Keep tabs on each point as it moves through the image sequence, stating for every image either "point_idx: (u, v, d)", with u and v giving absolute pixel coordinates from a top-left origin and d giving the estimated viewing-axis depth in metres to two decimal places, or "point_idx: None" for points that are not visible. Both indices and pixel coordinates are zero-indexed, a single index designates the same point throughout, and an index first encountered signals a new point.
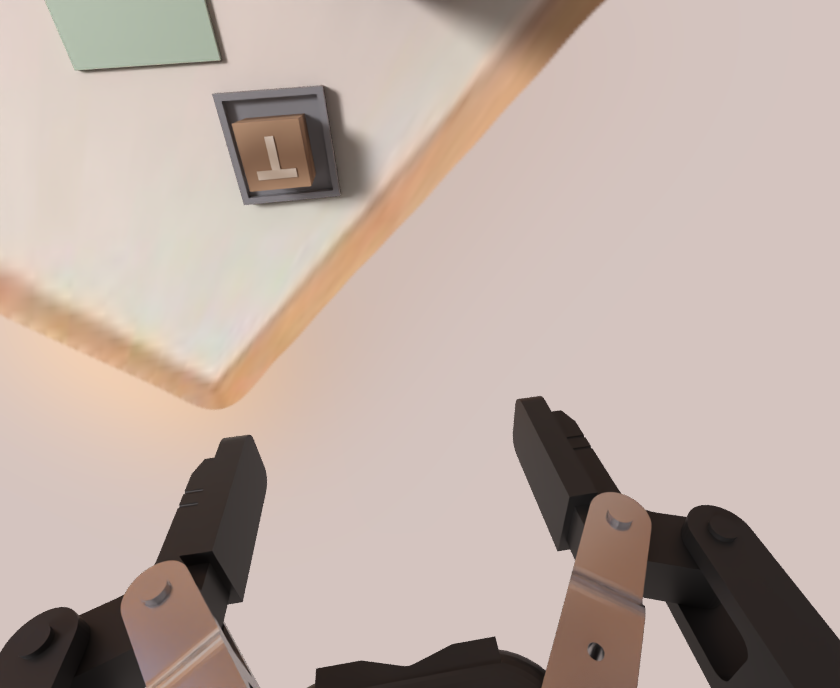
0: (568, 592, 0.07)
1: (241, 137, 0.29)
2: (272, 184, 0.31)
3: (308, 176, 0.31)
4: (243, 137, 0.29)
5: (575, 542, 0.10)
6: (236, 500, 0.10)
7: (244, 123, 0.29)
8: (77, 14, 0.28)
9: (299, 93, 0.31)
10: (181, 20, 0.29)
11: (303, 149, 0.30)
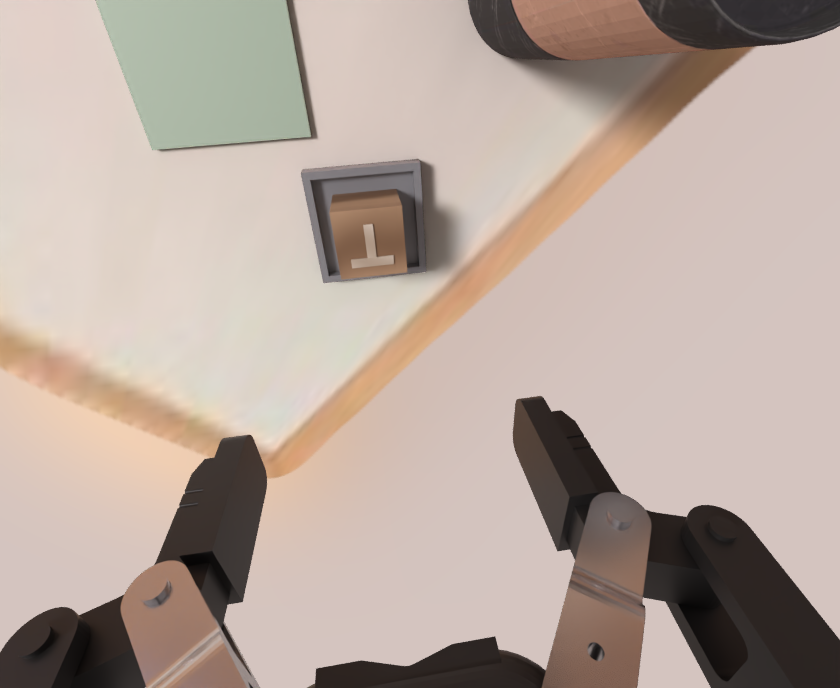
0: (568, 592, 0.07)
1: (338, 225, 0.26)
2: (365, 271, 0.28)
3: (405, 262, 0.28)
4: (340, 225, 0.26)
5: (575, 542, 0.10)
6: (236, 500, 0.10)
7: (343, 211, 0.26)
8: (160, 92, 0.25)
9: (394, 170, 0.28)
10: (272, 96, 0.26)
11: (403, 236, 0.27)
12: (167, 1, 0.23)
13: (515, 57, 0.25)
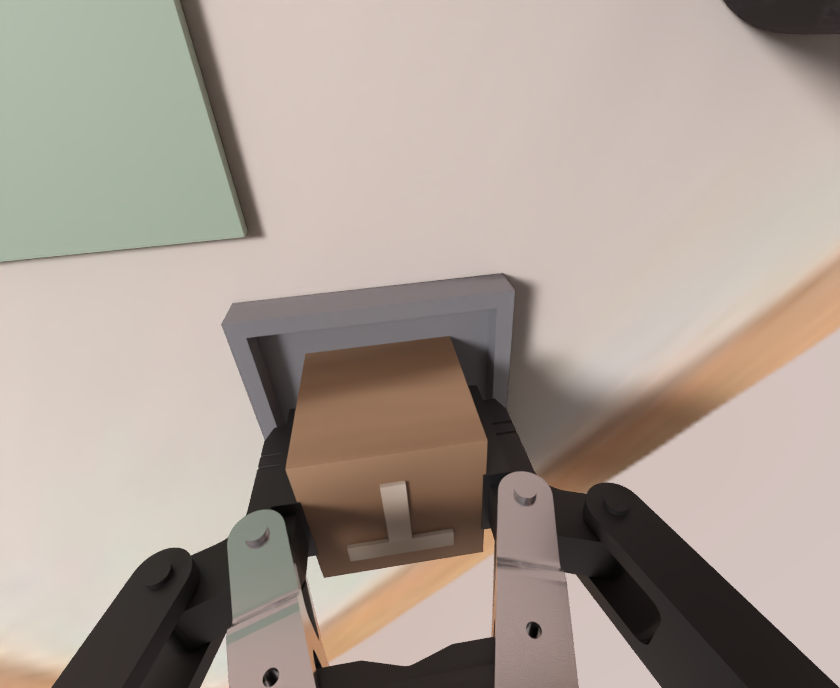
0: (498, 581, 0.07)
1: (312, 491, 0.10)
2: (384, 560, 0.12)
3: (480, 537, 0.12)
4: (318, 491, 0.10)
5: (492, 520, 0.10)
6: None
7: (324, 461, 0.09)
8: None
9: (453, 309, 0.12)
10: (127, 141, 0.09)
11: None
12: None
13: (821, 29, 0.09)
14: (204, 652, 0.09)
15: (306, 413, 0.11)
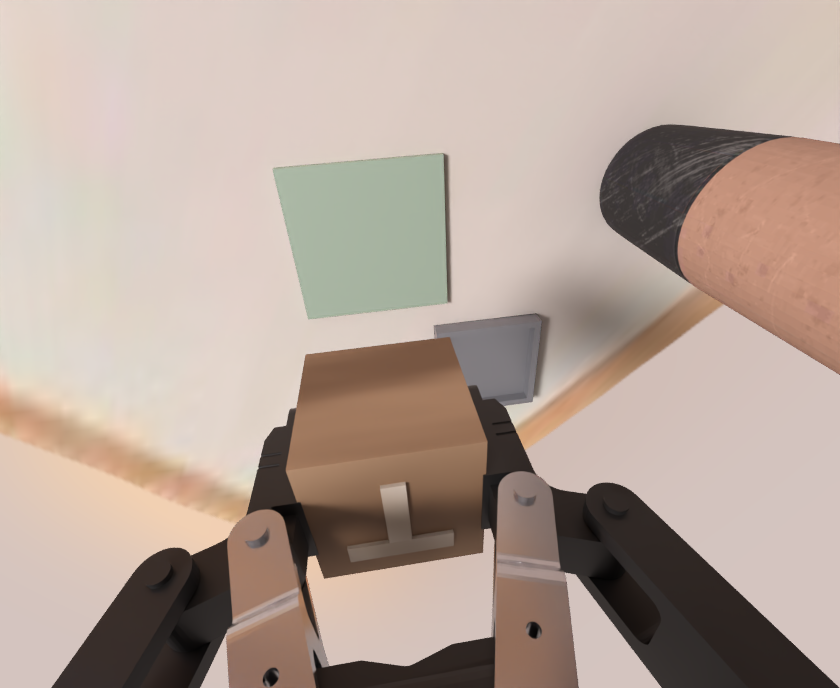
0: (498, 582, 0.07)
1: (312, 492, 0.10)
2: (384, 561, 0.12)
3: (480, 538, 0.12)
4: (318, 492, 0.10)
5: (492, 520, 0.10)
6: None
7: (324, 463, 0.09)
8: (324, 277, 0.28)
9: (518, 328, 0.31)
10: (420, 275, 0.29)
11: None
12: (344, 212, 0.26)
13: None
14: (204, 652, 0.09)
15: (306, 414, 0.11)
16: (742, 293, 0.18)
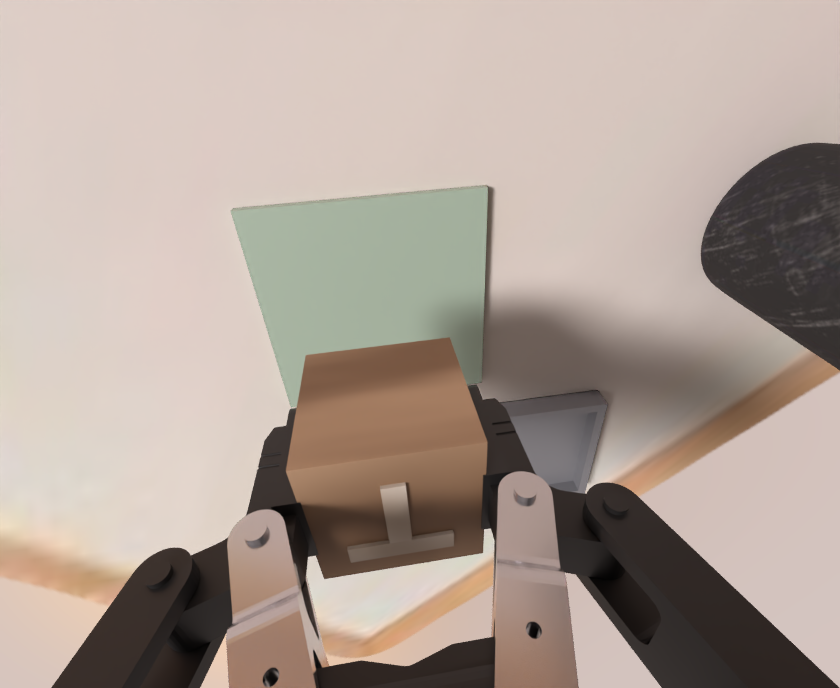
0: (498, 581, 0.07)
1: (312, 493, 0.10)
2: (384, 561, 0.12)
3: (480, 539, 0.12)
4: (318, 493, 0.10)
5: (492, 520, 0.10)
6: None
7: (324, 463, 0.09)
8: None
9: (576, 413, 0.23)
10: None
11: None
12: (339, 269, 0.18)
13: None
14: (204, 652, 0.09)
15: (306, 415, 0.11)
16: None
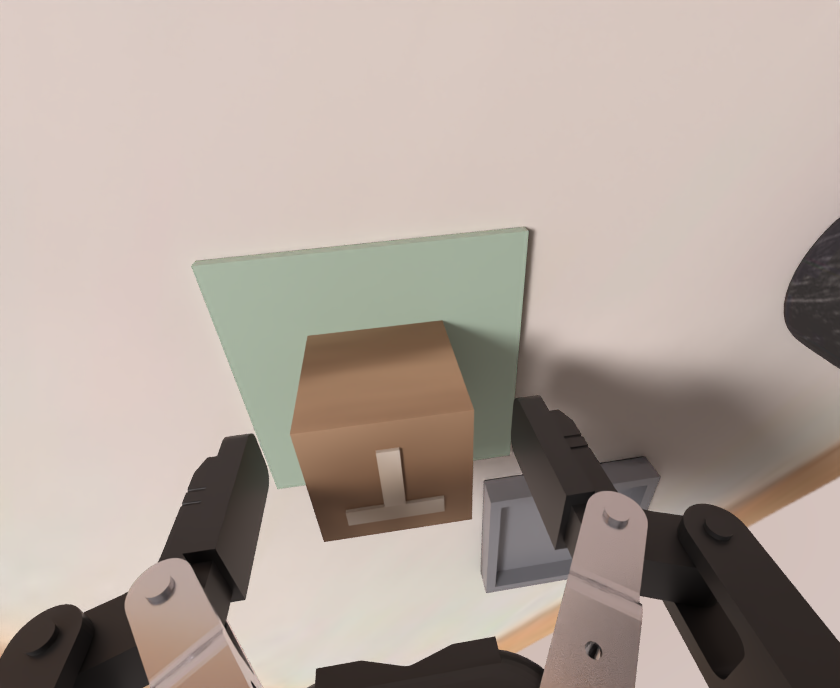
0: (565, 591, 0.07)
1: (314, 456, 0.11)
2: (380, 525, 0.12)
3: (469, 505, 0.12)
4: (319, 456, 0.11)
5: (572, 541, 0.10)
6: (238, 498, 0.10)
7: (325, 428, 0.10)
8: None
9: (622, 487, 0.19)
10: None
11: (470, 462, 0.11)
12: None
13: None
14: None
15: (308, 387, 0.11)
16: None
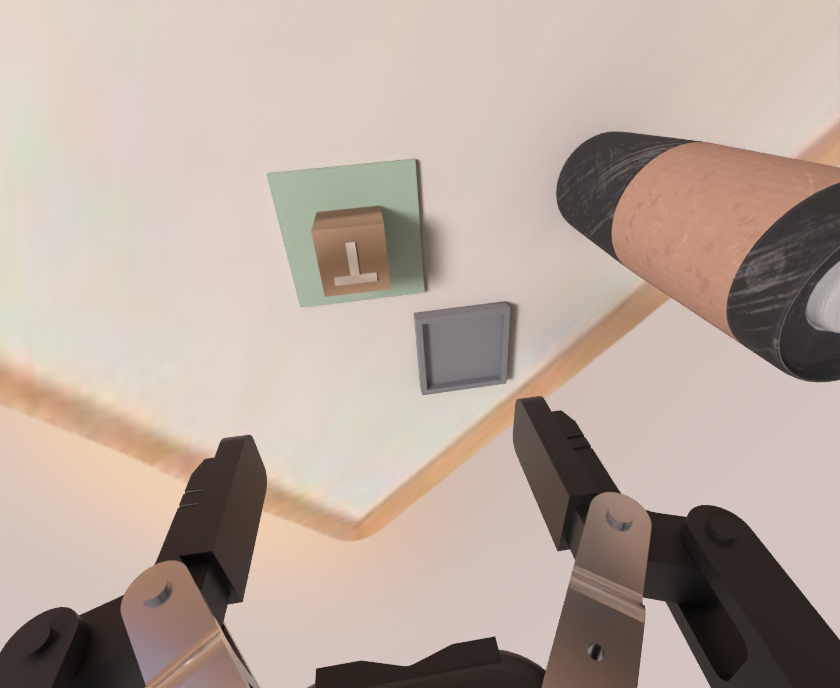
0: (568, 592, 0.07)
1: (320, 244, 0.26)
2: (349, 289, 0.28)
3: (389, 279, 0.28)
4: (322, 244, 0.26)
5: (575, 542, 0.10)
6: (236, 500, 0.10)
7: (324, 230, 0.26)
8: (313, 269, 0.32)
9: (489, 314, 0.35)
10: (399, 267, 0.33)
11: (386, 253, 0.27)
12: None
13: None
14: None
15: (317, 222, 0.27)
16: (655, 272, 0.21)
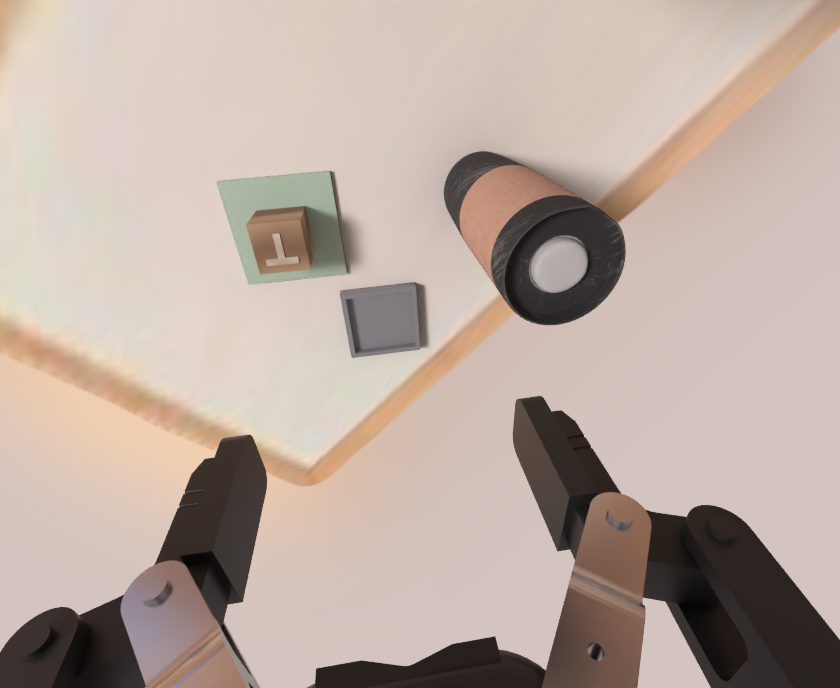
0: (568, 592, 0.07)
1: (253, 234, 0.36)
2: (278, 268, 0.37)
3: (308, 262, 0.38)
4: (255, 234, 0.36)
5: (575, 543, 0.10)
6: (235, 500, 0.10)
7: (256, 224, 0.35)
8: None
9: (399, 292, 0.44)
10: (324, 253, 0.42)
11: (304, 242, 0.37)
12: None
13: None
14: None
15: (253, 218, 0.37)
16: (475, 256, 0.31)
